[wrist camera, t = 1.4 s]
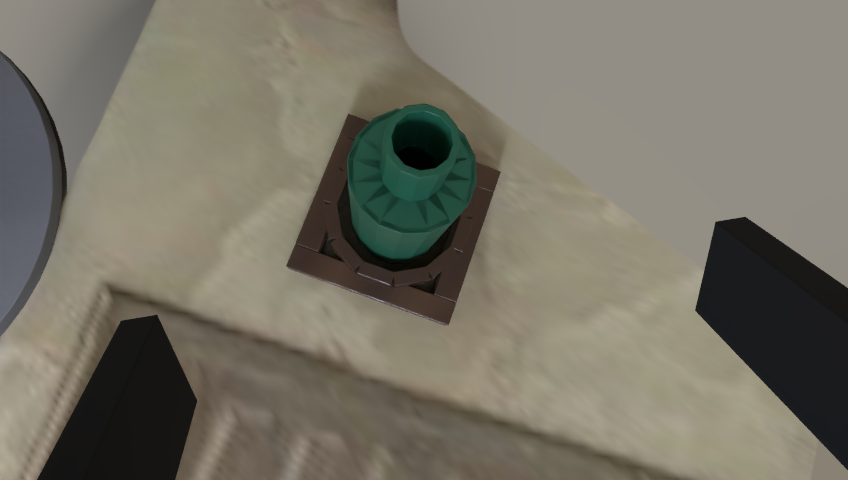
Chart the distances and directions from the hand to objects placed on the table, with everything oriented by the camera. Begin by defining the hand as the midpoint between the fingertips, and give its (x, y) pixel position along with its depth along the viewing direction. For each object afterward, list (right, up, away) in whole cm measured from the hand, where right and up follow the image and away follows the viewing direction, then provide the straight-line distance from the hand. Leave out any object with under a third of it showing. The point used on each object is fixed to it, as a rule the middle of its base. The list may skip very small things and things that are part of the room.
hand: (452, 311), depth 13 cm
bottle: (-3, +3, +28) cm, 29 cm away
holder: (-3, +3, +28) cm, 29 cm away
